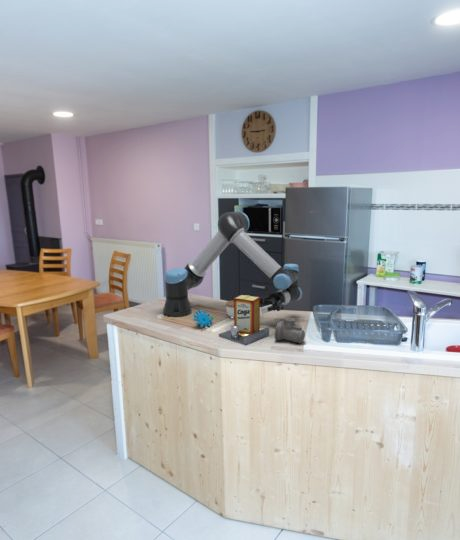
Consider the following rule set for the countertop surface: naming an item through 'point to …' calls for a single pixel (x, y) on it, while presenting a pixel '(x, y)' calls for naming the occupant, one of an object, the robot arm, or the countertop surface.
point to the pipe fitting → (289, 331)
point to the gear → (203, 318)
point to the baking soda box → (247, 313)
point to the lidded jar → (230, 308)
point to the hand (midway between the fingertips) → (250, 307)
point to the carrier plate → (244, 335)
